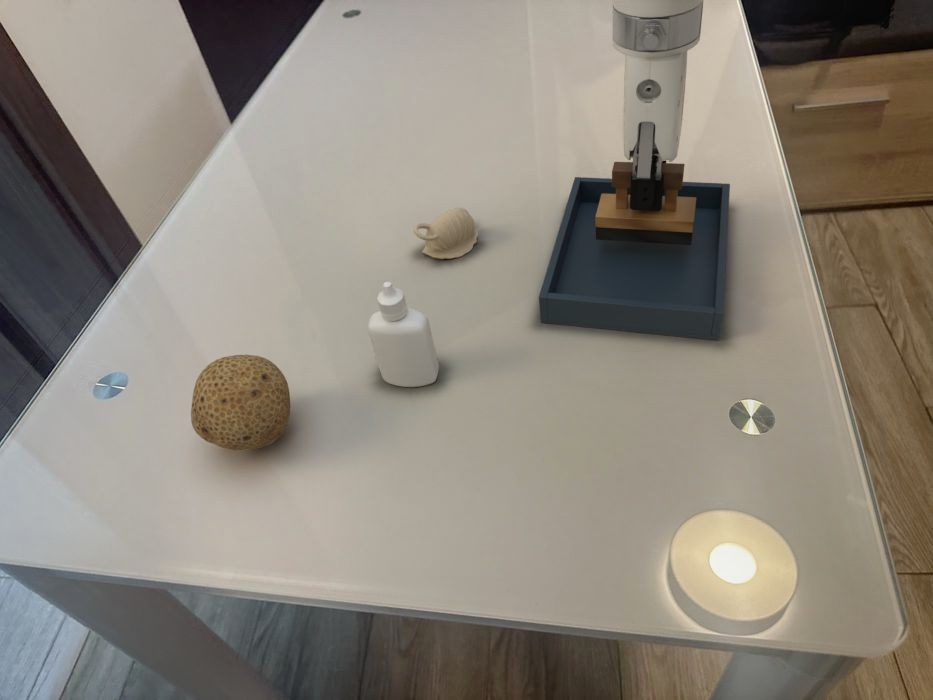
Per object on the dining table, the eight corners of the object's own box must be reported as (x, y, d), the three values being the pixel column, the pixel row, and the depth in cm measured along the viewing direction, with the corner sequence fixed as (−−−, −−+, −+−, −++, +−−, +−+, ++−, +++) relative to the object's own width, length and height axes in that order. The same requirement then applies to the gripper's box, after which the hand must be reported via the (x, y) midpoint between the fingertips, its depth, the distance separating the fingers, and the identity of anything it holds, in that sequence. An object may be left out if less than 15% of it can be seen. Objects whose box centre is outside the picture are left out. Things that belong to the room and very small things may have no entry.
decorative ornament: (487, 243, 84) (483, 206, 80) (427, 273, 82) (419, 235, 78) (469, 228, 87) (464, 190, 83) (410, 256, 84) (402, 219, 80)
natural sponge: (212, 488, 64) (165, 420, 57) (214, 415, 70) (172, 345, 63) (311, 462, 65) (276, 391, 58) (304, 391, 71) (272, 320, 64)
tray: (725, 209, 83) (730, 183, 80) (718, 340, 69) (723, 313, 66) (575, 201, 88) (574, 176, 85) (540, 322, 74) (538, 297, 71)
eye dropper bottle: (404, 351, 73) (380, 260, 65) (446, 371, 71) (427, 280, 62) (376, 378, 71) (347, 288, 63) (419, 400, 68) (394, 310, 60)
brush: (693, 222, 77) (701, 156, 72) (691, 246, 75) (698, 181, 69) (601, 217, 80) (601, 154, 75) (595, 240, 77) (595, 177, 72)
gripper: (696, 63, 56) (678, 250, 69) (706, -13, 66) (689, 162, 79) (599, 64, 58) (599, 245, 71) (624, -10, 68) (620, 160, 81)
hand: (647, 200), depth 75 cm, fingers closed on brush, 2 cm apart
